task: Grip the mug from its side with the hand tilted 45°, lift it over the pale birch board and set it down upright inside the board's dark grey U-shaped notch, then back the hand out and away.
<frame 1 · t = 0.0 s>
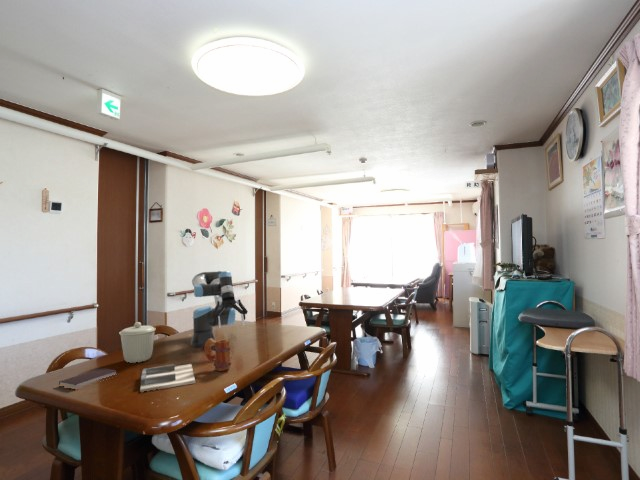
hand: (231, 326, 202), 15 cm above the table, tool tilted 35°, fingers open, 13 cm apart
notched board: (168, 378, 164), on the table
canister: (138, 360, 193), on the table
mug: (218, 369, 174), on the table
book: (89, 382, 163), on the table
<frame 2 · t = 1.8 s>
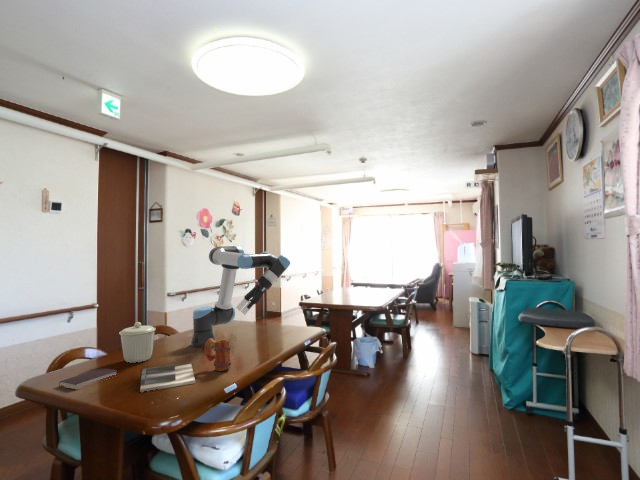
hand: (240, 311, 179), 28 cm above the table, tool tilted 45°, fingers open, 13 cm apart
nothing on the table moved.
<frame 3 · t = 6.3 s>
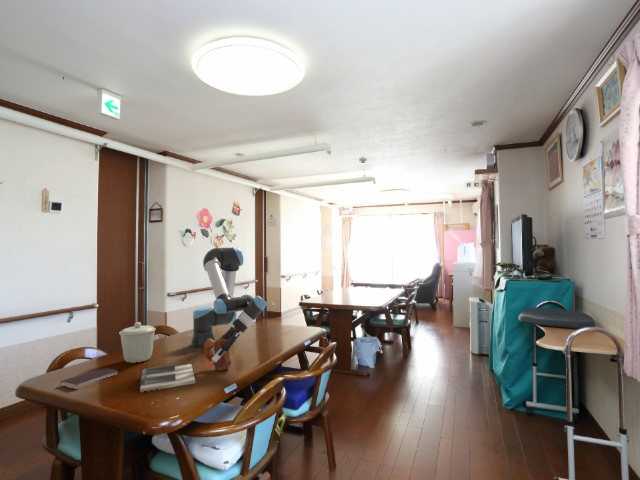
hand: (212, 357, 173), 6 cm above the table, tool tilted 45°, fingers closed on mug, 11 cm apart
mug: (218, 369, 174), on the table, touching gripper
everything else where it was.
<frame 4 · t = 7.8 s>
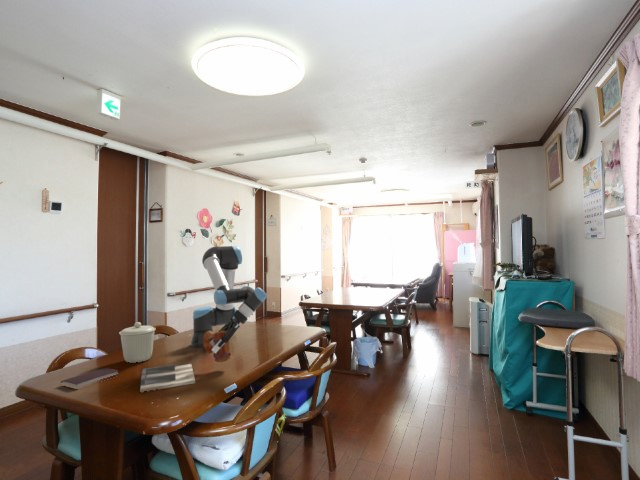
hand: (212, 348, 173), 11 cm above the table, tool tilted 45°, fingers closed on mug, 10 cm apart
mug: (218, 361, 174), point 4 cm above the table, touching gripper
everything else where it was.
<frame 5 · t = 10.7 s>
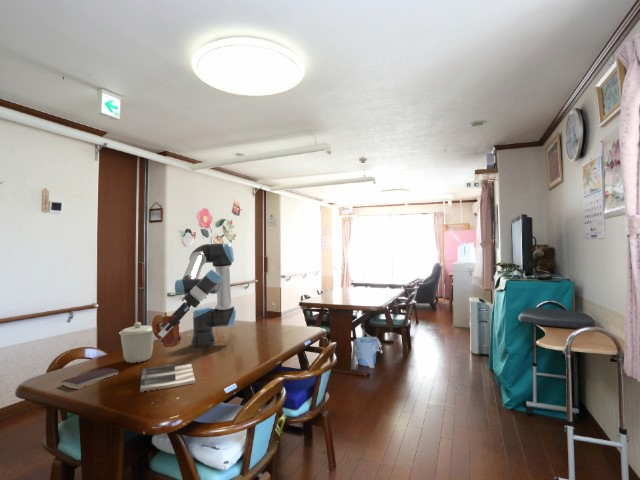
hand: (160, 333, 163), 21 cm above the table, tool tilted 45°, fingers closed on mug, 10 cm apart
mug: (167, 347, 164), point 15 cm above the table, touching gripper
everything else where it was.
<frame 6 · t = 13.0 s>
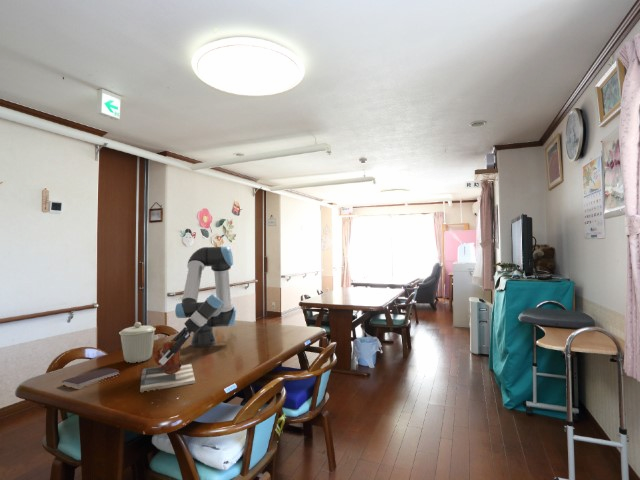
hand: (161, 359, 163), 9 cm above the table, tool tilted 45°, fingers closed on mug, 10 cm apart
mug: (168, 373, 164), point 2 cm above the table, touching gripper
when the fingers open (9 cm above the table, at t = 13.8 s): mug drops 1 cm, resting on notched board.
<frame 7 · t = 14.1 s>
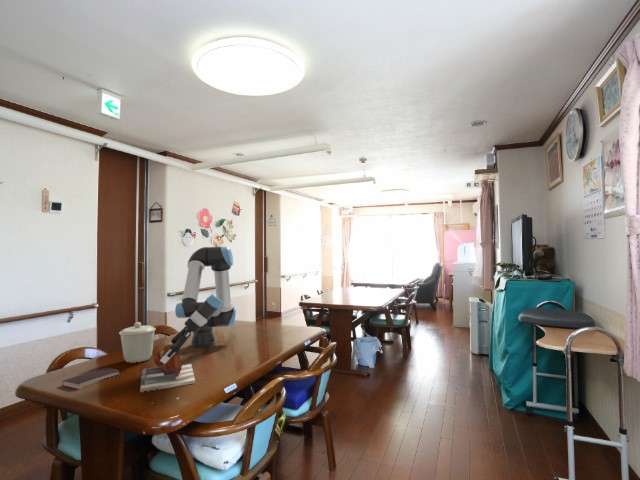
hand: (162, 358, 163), 10 cm above the table, tool tilted 45°, fingers open, 13 cm apart
mug: (167, 375, 164), point 1 cm above the table, touching notched board
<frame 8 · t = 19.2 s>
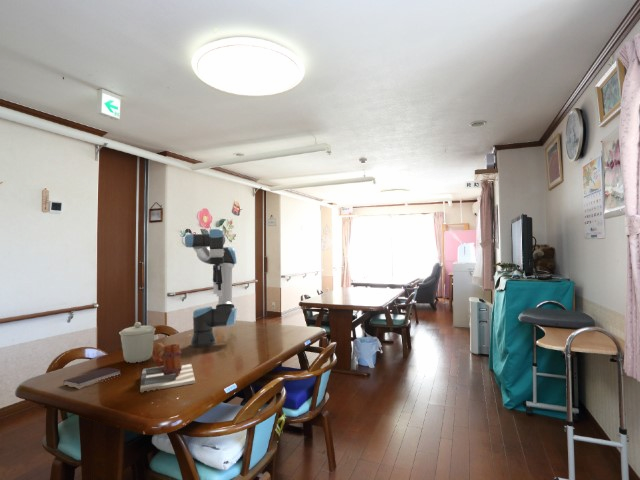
hand: (217, 295, 193), 35 cm above the table, tool pointing down, fingers open, 13 cm apart
at the end: mug inside the target area on the notched board (0.3 cm from its centre), point 1.0 cm above the notched board's base; mug tilted 0° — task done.
